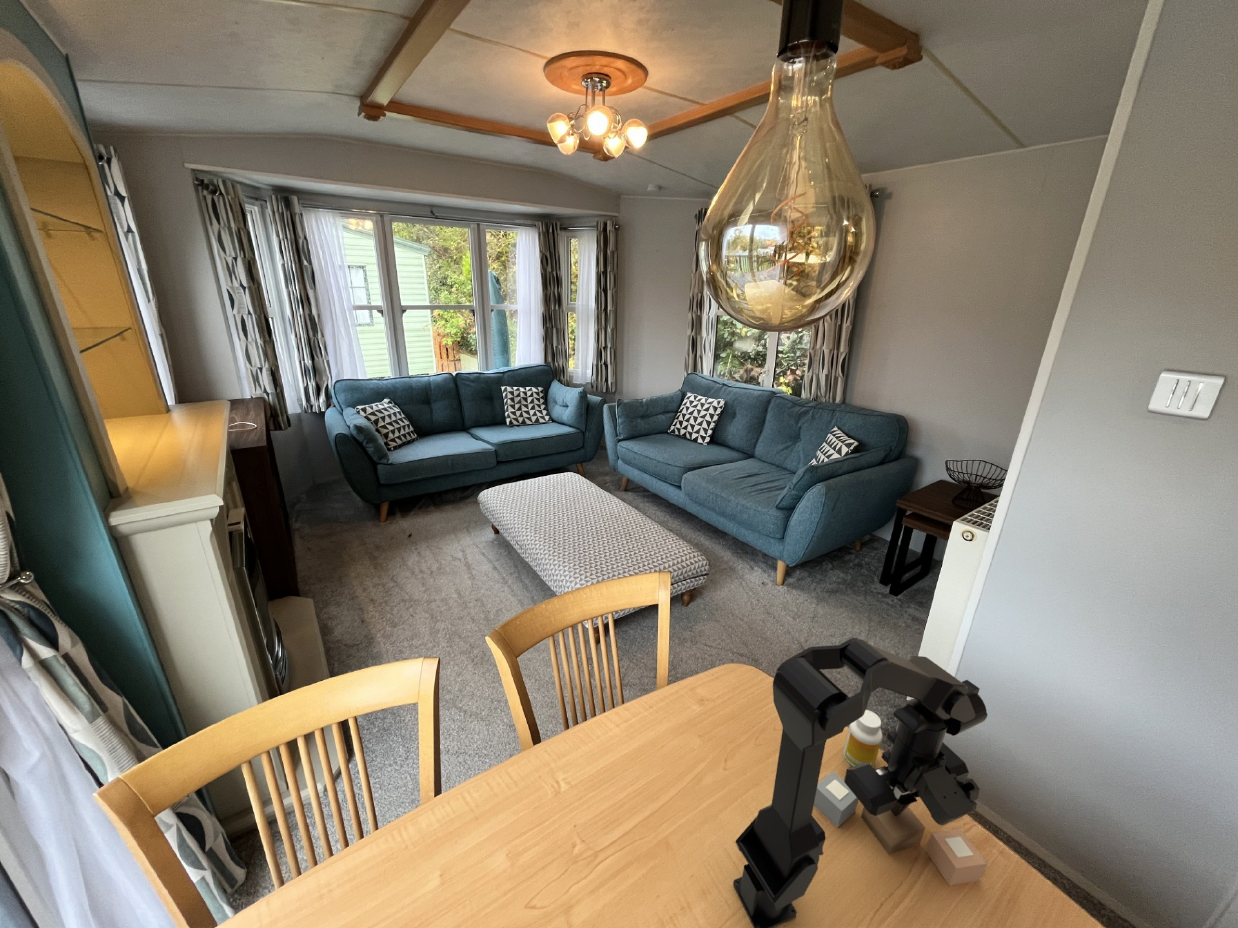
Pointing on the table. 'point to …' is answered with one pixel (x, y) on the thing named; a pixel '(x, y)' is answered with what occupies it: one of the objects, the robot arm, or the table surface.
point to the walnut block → (895, 829)
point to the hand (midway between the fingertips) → (894, 812)
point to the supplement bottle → (863, 740)
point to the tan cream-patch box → (955, 857)
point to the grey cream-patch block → (835, 799)
